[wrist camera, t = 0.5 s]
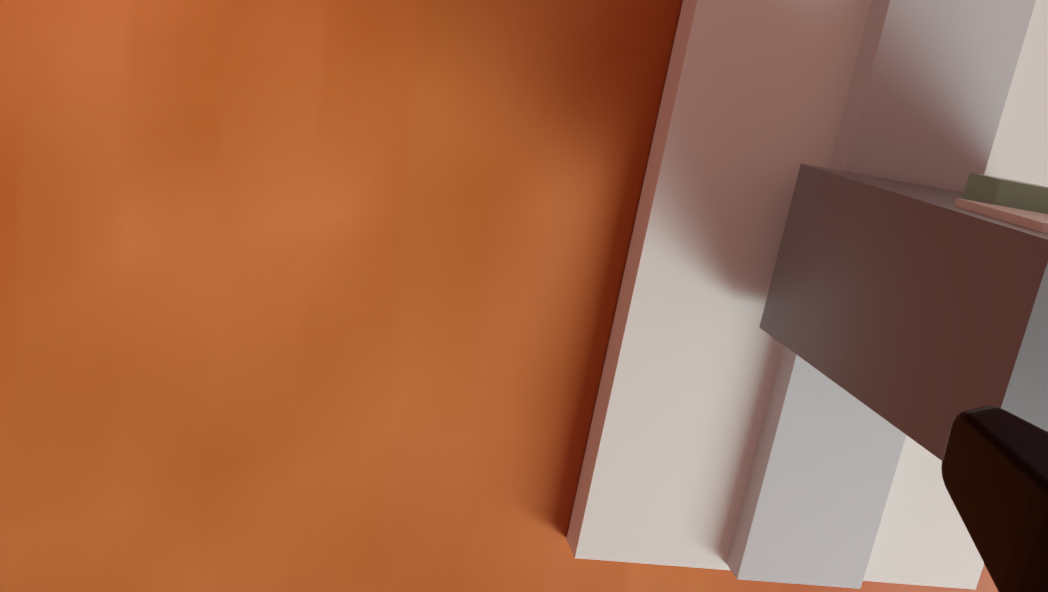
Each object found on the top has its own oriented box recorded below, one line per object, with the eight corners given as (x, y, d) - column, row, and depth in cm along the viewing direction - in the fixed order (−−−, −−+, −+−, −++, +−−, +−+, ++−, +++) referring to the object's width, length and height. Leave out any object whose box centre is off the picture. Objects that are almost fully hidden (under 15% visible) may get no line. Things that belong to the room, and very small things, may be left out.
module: (975, 356, 25) (1278, 517, 17) (759, 327, 24) (976, 485, 16) (1030, 179, 24) (1383, 259, 16) (807, 137, 23) (1066, 202, 14)
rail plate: (955, 571, 29) (1021, 630, 26) (566, 538, 26) (593, 601, 24) (1185, -146, 24) (1297, -169, 21) (741, -271, 22) (801, -315, 19)
